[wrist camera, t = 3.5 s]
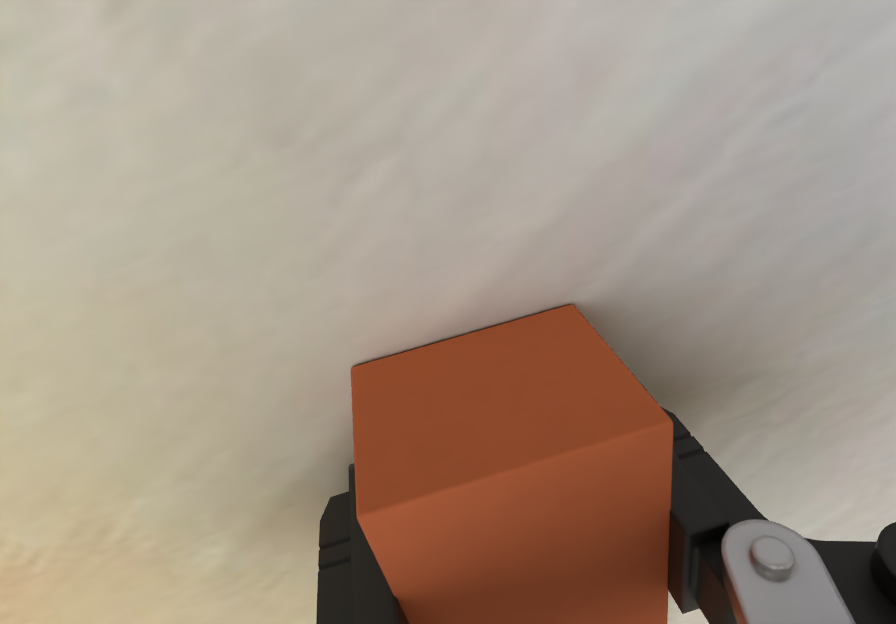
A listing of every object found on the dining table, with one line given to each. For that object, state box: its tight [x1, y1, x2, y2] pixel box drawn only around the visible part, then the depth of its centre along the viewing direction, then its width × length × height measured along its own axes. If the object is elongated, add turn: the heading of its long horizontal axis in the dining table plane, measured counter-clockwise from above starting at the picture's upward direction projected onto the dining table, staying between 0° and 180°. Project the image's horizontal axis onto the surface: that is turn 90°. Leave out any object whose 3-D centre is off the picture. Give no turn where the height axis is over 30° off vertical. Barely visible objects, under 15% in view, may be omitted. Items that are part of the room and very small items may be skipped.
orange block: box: [351, 304, 673, 624], centre depth 10 cm, size 6×4×4 cm
